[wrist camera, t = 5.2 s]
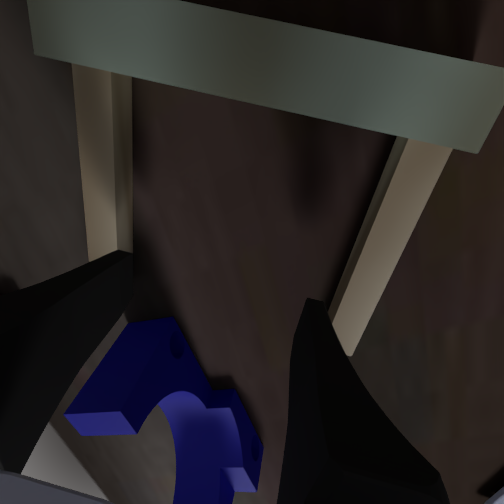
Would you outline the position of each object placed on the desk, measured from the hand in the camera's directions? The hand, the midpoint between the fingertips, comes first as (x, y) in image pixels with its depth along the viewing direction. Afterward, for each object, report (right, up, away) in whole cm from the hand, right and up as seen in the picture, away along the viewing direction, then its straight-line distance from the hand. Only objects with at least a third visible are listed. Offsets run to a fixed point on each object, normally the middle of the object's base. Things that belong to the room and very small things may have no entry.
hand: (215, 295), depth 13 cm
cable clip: (-2, -7, +9) cm, 11 cm away
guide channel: (+1, +4, +1) cm, 4 cm away
